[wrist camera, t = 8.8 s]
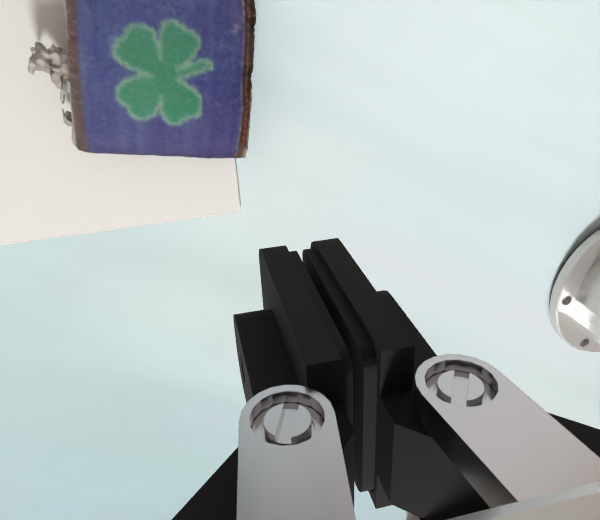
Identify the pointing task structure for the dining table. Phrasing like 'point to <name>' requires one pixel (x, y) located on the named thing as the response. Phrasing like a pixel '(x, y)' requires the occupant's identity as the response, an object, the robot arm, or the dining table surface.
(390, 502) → the robot arm
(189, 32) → the blue green-marked block
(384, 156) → the dining table surface
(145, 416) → the dining table surface
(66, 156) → the mat
